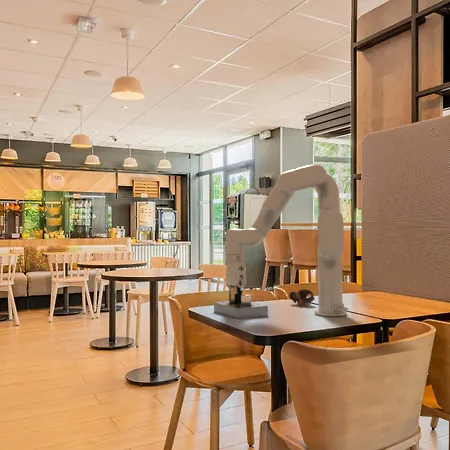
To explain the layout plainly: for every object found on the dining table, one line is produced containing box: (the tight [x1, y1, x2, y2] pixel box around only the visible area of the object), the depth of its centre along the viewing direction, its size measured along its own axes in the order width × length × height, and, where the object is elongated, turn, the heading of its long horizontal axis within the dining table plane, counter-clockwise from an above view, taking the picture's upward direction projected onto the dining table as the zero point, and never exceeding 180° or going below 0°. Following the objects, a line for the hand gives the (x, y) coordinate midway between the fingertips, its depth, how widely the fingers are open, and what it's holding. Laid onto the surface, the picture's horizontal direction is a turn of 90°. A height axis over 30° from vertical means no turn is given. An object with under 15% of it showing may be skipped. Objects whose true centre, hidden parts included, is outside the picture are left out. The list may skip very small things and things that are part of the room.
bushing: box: [231, 287, 240, 304], centre depth 196 cm, size 4×4×8 cm
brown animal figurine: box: [288, 288, 316, 307], centre depth 216 cm, size 12×10×8 cm
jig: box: [213, 294, 269, 320], centre depth 192 cm, size 20×14×8 cm
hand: (235, 302), depth 196 cm, fingers closed on bushing, 3 cm apart
